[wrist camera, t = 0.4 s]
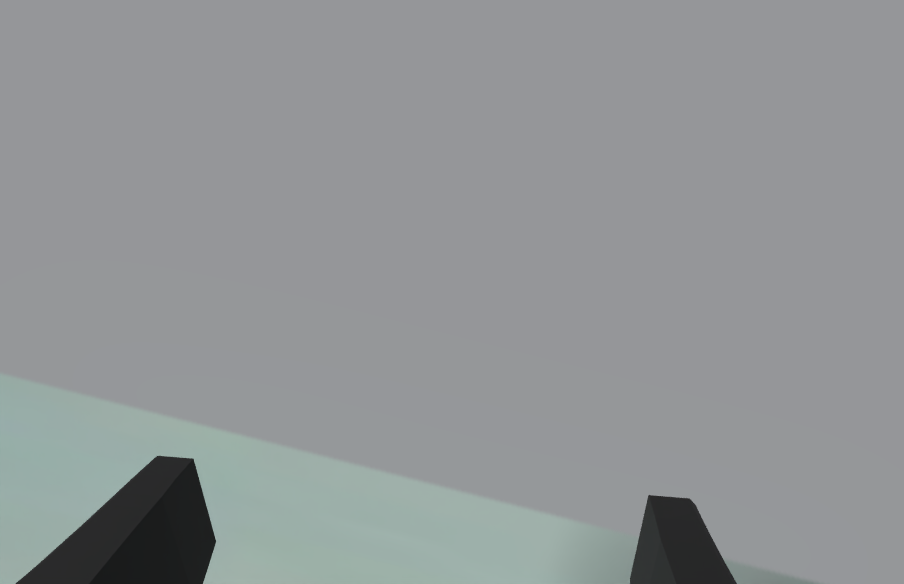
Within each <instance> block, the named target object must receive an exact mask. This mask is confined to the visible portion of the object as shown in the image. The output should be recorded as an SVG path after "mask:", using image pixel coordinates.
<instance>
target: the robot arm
mask: <svg viewBox="0 0 904 584" xmlns="http://www.w3.org/2000/svg"><path fill="white" fill-rule="evenodd" d="M215 543H216V540H215V536H214V532H213V529H212V525H211V521H210V518H209V514H208V510H207V507H206V503H205V499H204V496H203V492H202V488H201V485H200V481H199V477H198V474H197V470H196V466H195V463H194V459H190V458H177V457H165V456H157V457H155V458H154V459H153V460H152V461H151V462H150V463H149V464H148V465H146V466H145V467H144V468H143V469H142V470H141V471H140V472H139V473H138V474H137V475H135V476H134V477H133V478H132V479H131V480H130V481H129V482H128V483H127V484H126V485H125V486H124V487H123V488H121V489H120V490H119V491H118V492H117V493H116V494H115V495H114V496H113V497H112V498H111V499H110V500H109V501H108V502H106V503H105V504H104V505H103V506H102V507H101V508H100V509H99V510H98V511H97V512H96V513H95V514H93V515H92V516H91V517H90V518H89V519H88V520H87V521H86V522H85V523H84V524H83V525H82V526H80V527H79V528H78V529H77V530H76V531H75V532H74V533H73V534H72V535H70V536H69V537H68V538H67V539H66V540H65V541H64V542H63V543H62V544H60V545H59V546H58V547H57V548H56V549H55V550H54V551H53V552H51V553H50V554H49V555H48V556H47V557H46V558H45V559H44V560H43V561H41V562H40V563H39V564H38V565H37V566H36V567H35V568H33V569H32V570H31V571H30V572H29V573H28V574H26V575H25V576H24V577H23V578H22V579H21V580H19V581H18V582H17V583H16V584H203V581H204V578H205V575H206V572H207V569H208V566H209V563H210V559H211V556H212V553H213V550H214V546H215ZM630 584H737V583H736V582H735V580H734V578H733V576H732V574H731V573H730V571H729V569H728V567H727V565H726V564H725V562H724V560H723V558H722V556H721V555H720V553H719V551H718V549H717V547H716V545H715V543H714V541H713V539H712V537H711V536H710V534H709V532H708V530H707V528H706V526H705V524H704V522H703V520H702V518H701V515H700V514H699V511H698V509H697V507H696V505H695V504H694V503H693V502H692V501H691V500H690V499H688V498H675V497H663V496H651V495H649V496H648V500H647V505H646V509H645V514H644V518H643V523H642V527H641V532H640V536H639V541H638V545H637V550H636V554H635V559H634V563H633V568H632V572H631V577H630Z"/></svg>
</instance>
